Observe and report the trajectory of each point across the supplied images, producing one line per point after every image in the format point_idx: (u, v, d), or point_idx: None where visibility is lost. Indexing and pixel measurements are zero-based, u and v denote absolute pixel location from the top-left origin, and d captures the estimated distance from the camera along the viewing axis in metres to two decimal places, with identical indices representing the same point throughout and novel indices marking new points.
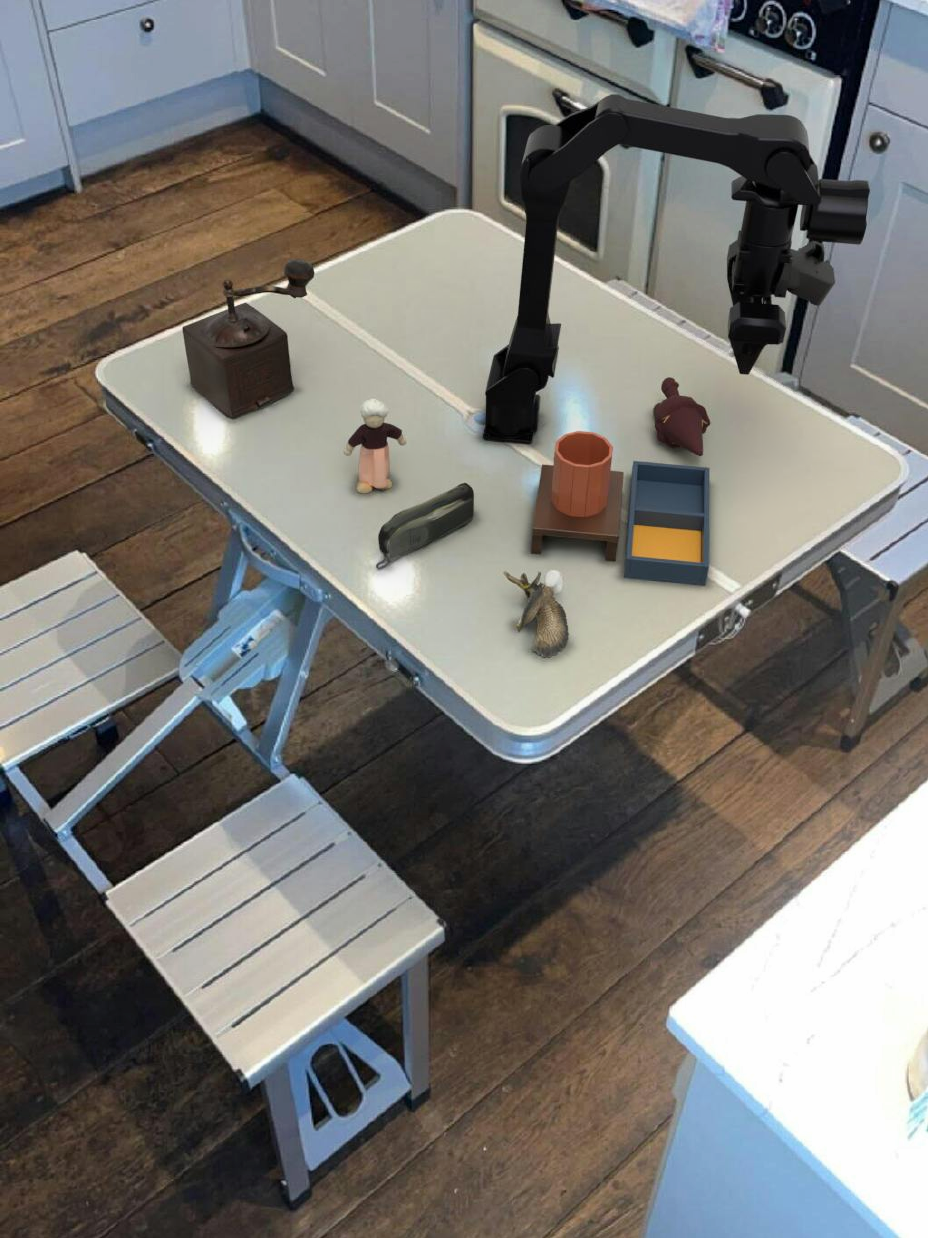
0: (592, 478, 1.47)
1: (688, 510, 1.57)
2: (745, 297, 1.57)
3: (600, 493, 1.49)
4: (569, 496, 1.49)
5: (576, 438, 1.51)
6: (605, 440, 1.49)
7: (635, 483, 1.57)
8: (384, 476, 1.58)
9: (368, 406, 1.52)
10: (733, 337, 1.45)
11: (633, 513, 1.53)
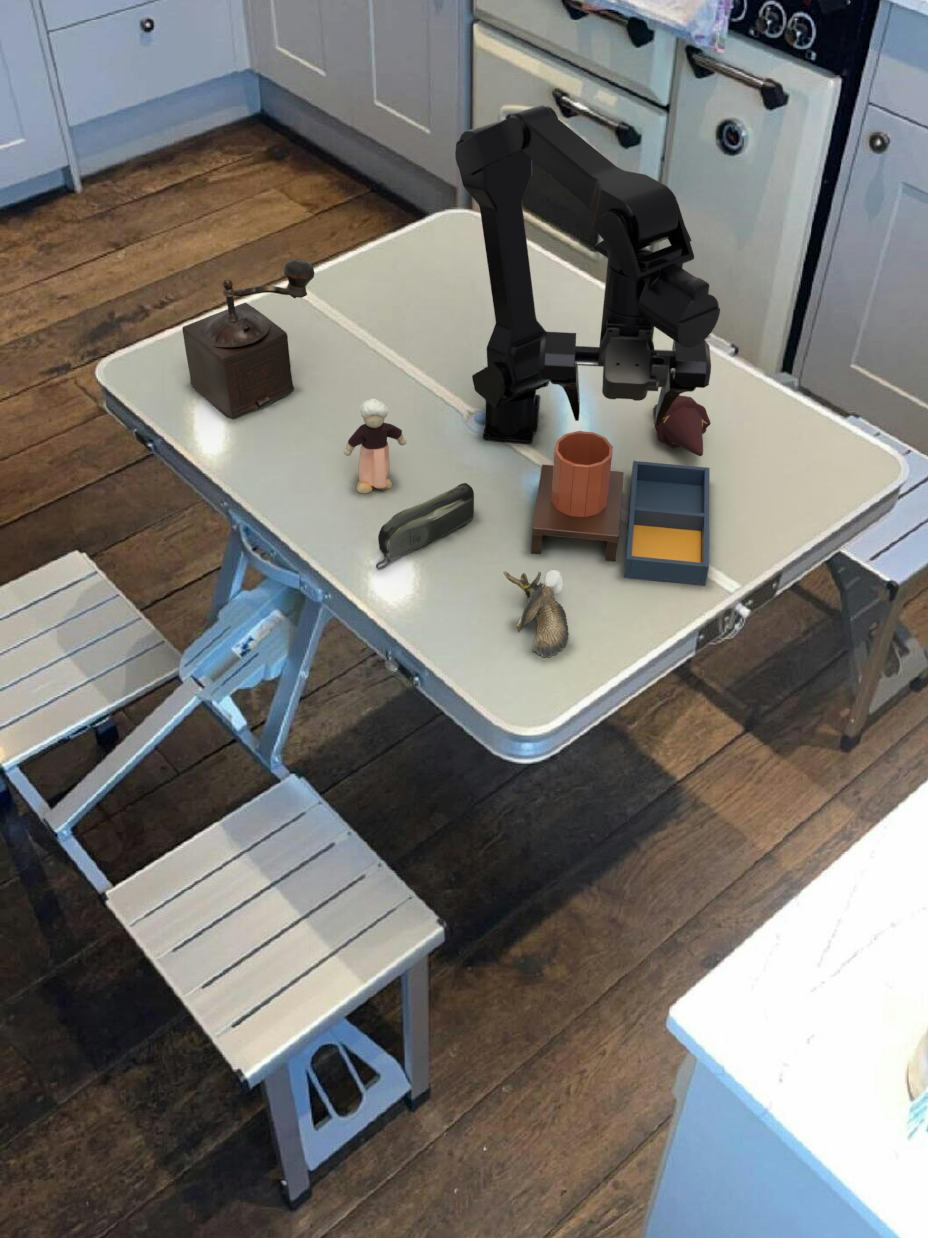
0: (592, 478, 1.47)
1: (688, 510, 1.57)
2: (663, 388, 1.46)
3: (600, 493, 1.49)
4: (569, 496, 1.49)
5: (576, 438, 1.51)
6: (605, 440, 1.49)
7: (635, 483, 1.57)
8: (384, 476, 1.58)
9: (368, 406, 1.52)
10: None
11: (633, 513, 1.53)
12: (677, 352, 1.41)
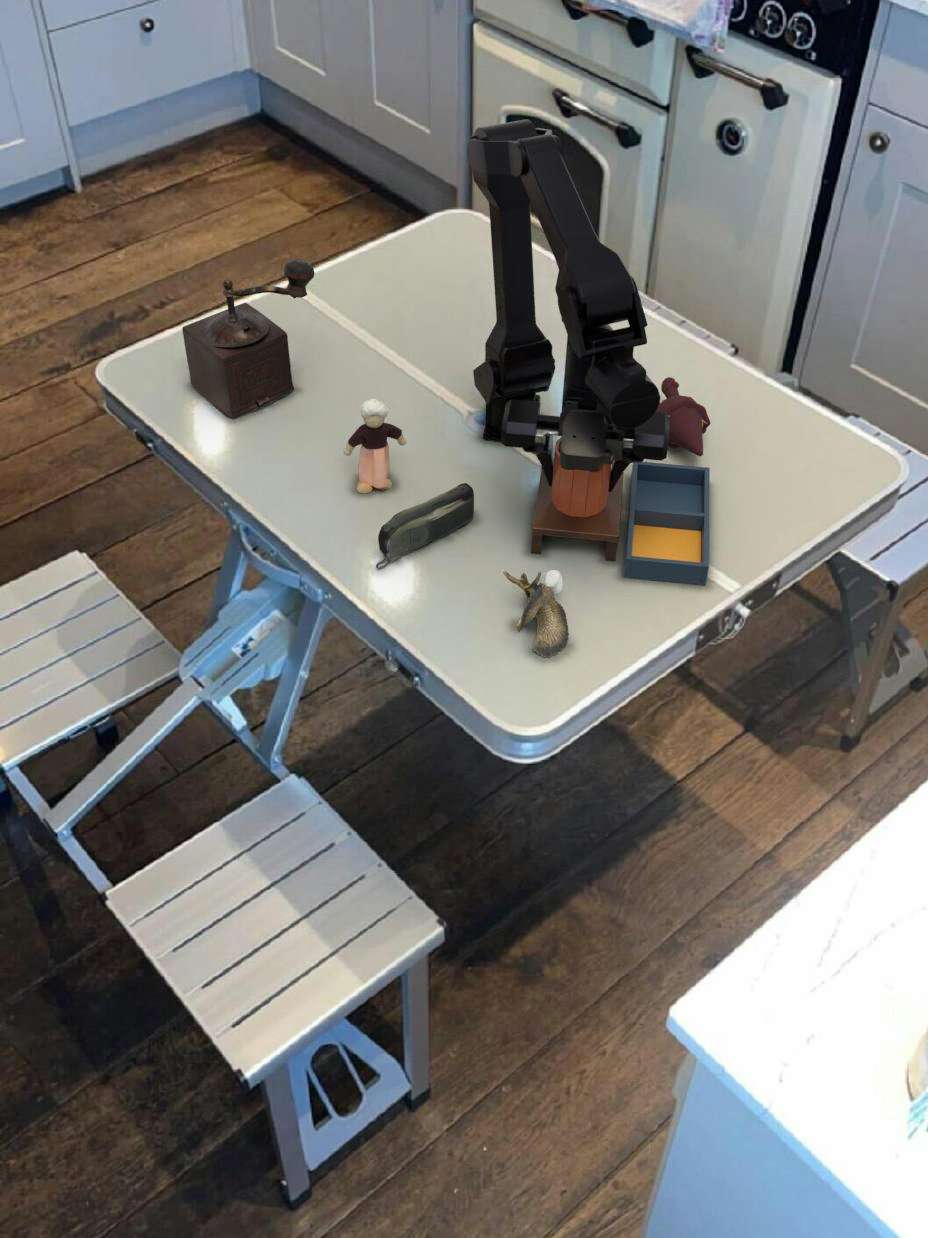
0: (592, 478, 1.47)
1: (688, 510, 1.57)
2: None
3: (600, 493, 1.49)
4: (569, 496, 1.49)
5: None
6: None
7: (635, 483, 1.57)
8: (384, 476, 1.58)
9: (368, 406, 1.52)
10: None
11: (633, 513, 1.53)
12: None
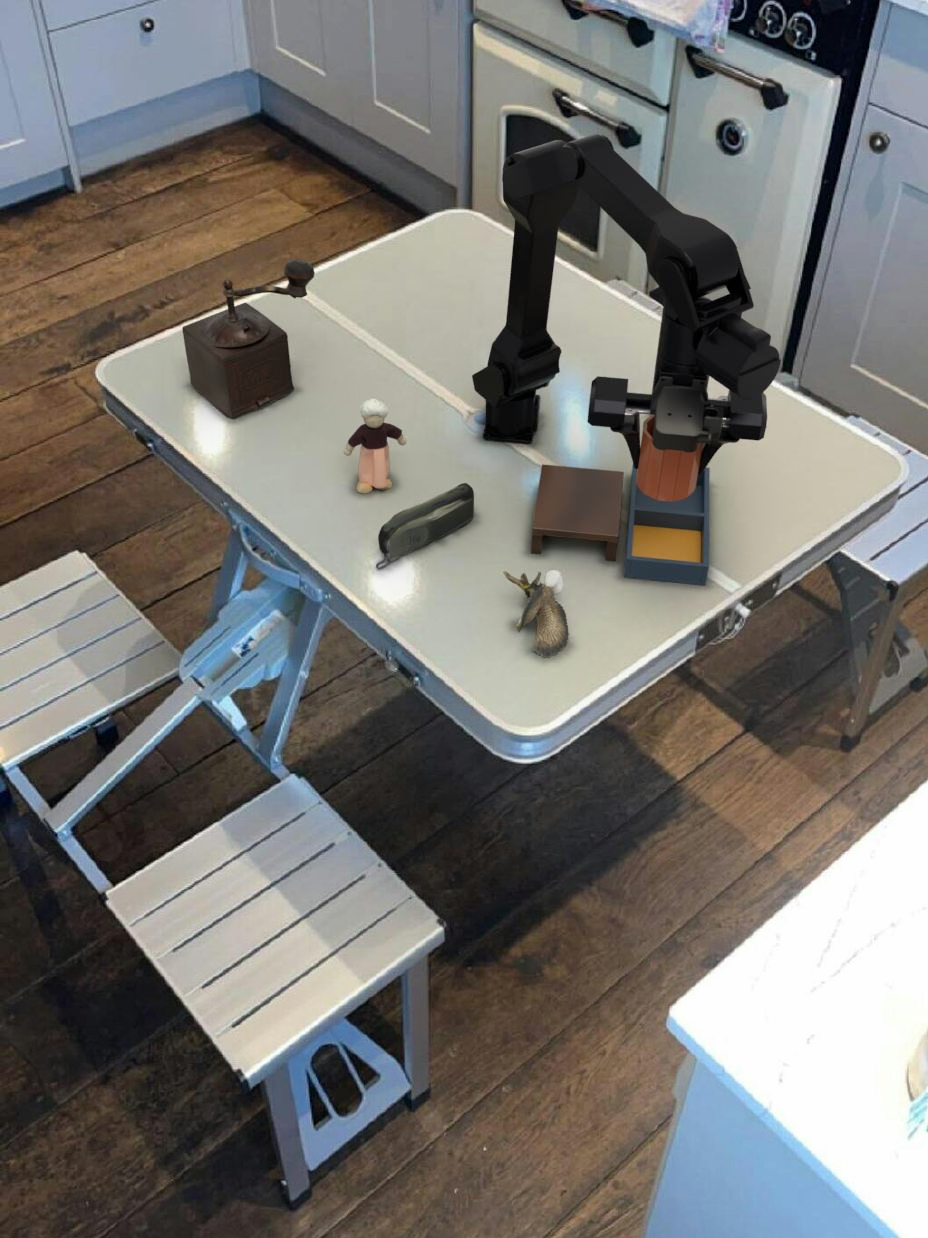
0: (683, 460, 1.39)
1: (688, 510, 1.57)
2: None
3: (690, 476, 1.41)
4: (657, 479, 1.41)
5: None
6: None
7: (635, 483, 1.57)
8: (384, 476, 1.58)
9: (368, 406, 1.52)
10: None
11: (633, 513, 1.53)
12: (732, 403, 1.36)
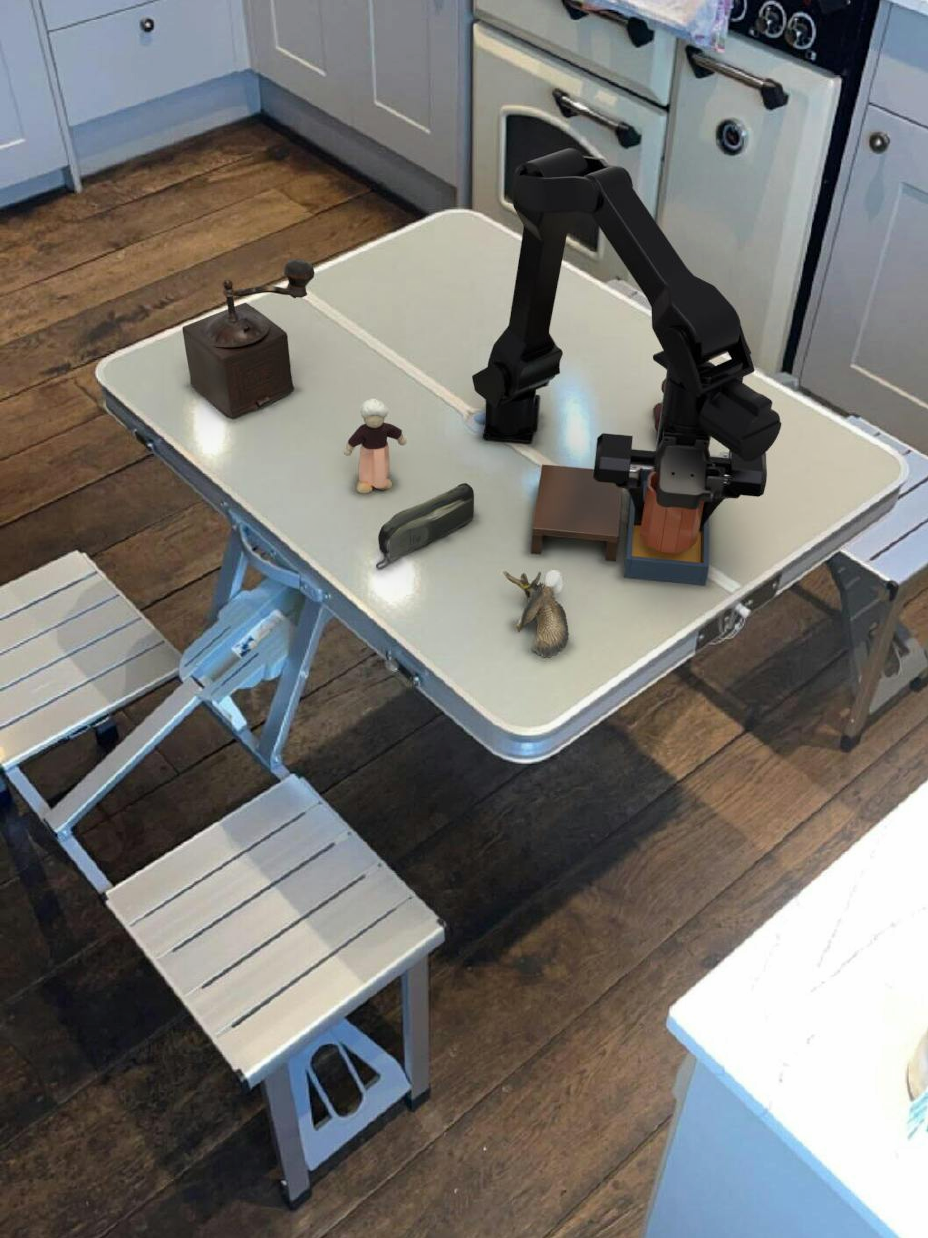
0: (685, 514, 1.44)
1: None
2: None
3: (692, 529, 1.46)
4: (661, 532, 1.46)
5: None
6: None
7: None
8: (384, 476, 1.58)
9: (368, 406, 1.52)
10: None
11: (633, 513, 1.53)
12: (733, 460, 1.41)
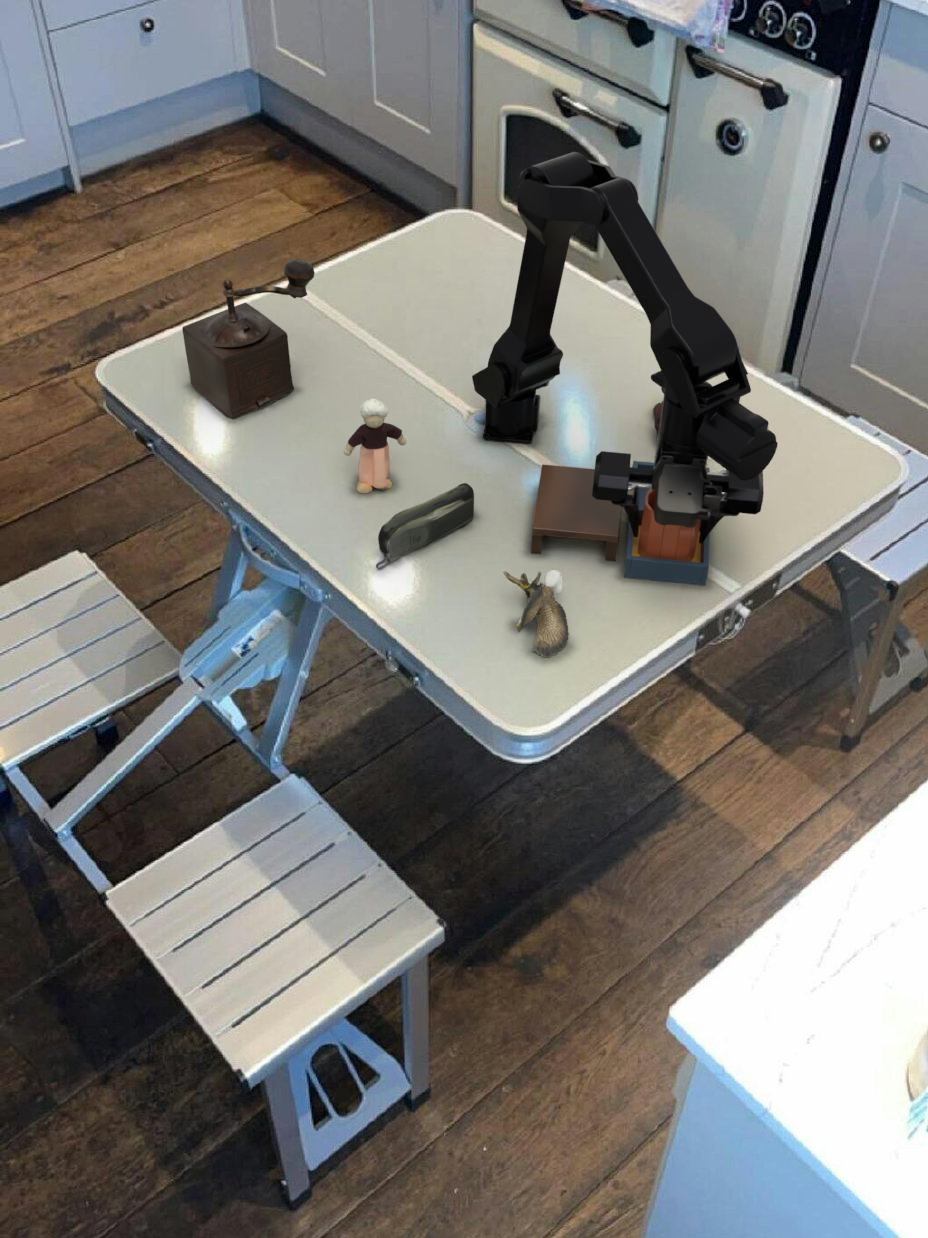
0: (682, 531, 1.46)
1: None
2: None
3: (689, 546, 1.48)
4: (658, 549, 1.48)
5: None
6: None
7: None
8: (384, 476, 1.58)
9: (368, 406, 1.52)
10: None
11: None
12: (730, 478, 1.43)
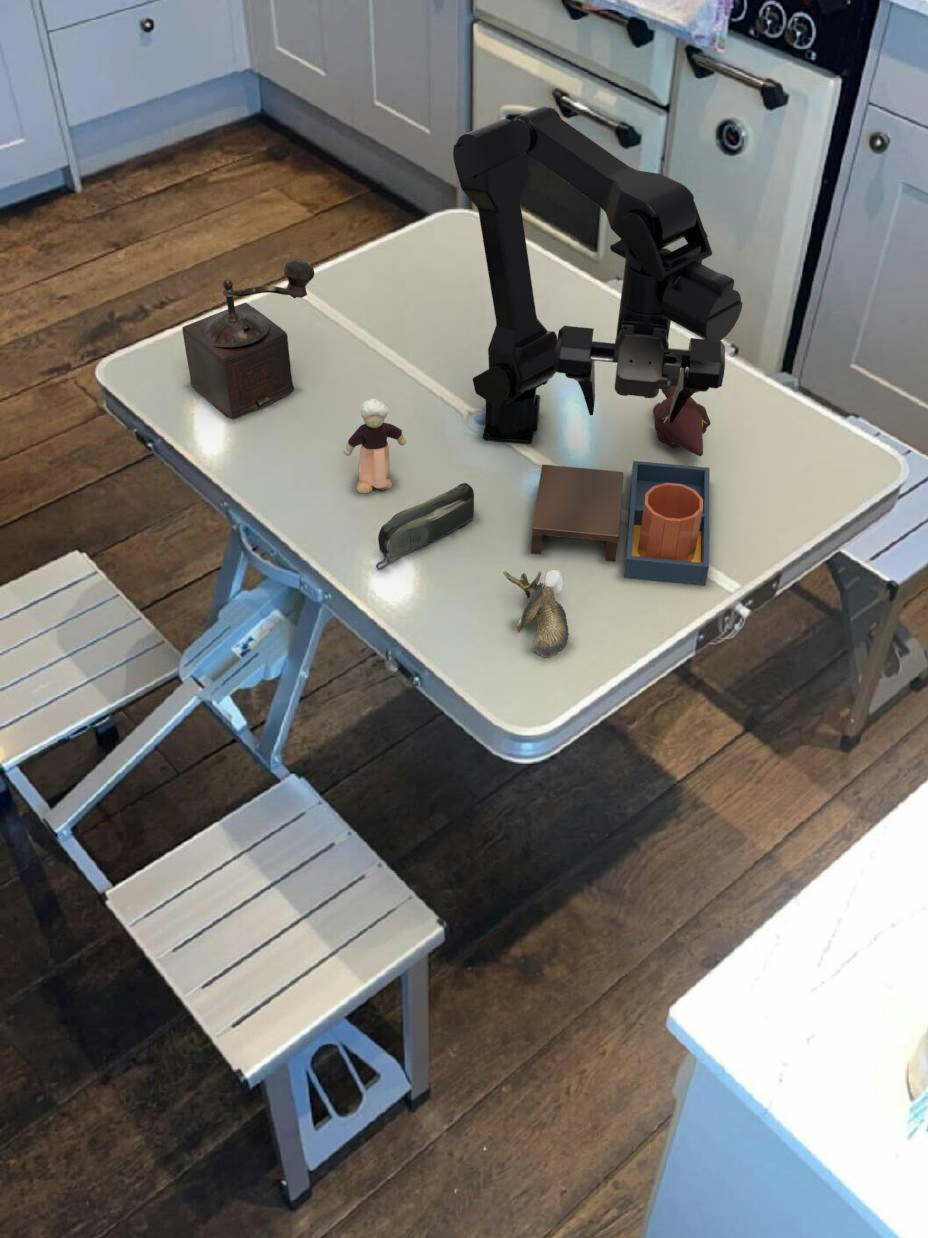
0: (682, 531, 1.46)
1: None
2: (678, 386, 1.47)
3: (689, 546, 1.48)
4: (658, 549, 1.48)
5: (664, 490, 1.49)
6: (695, 492, 1.48)
7: (635, 483, 1.57)
8: (384, 476, 1.58)
9: (368, 406, 1.52)
10: None
11: (633, 513, 1.53)
12: (692, 352, 1.42)
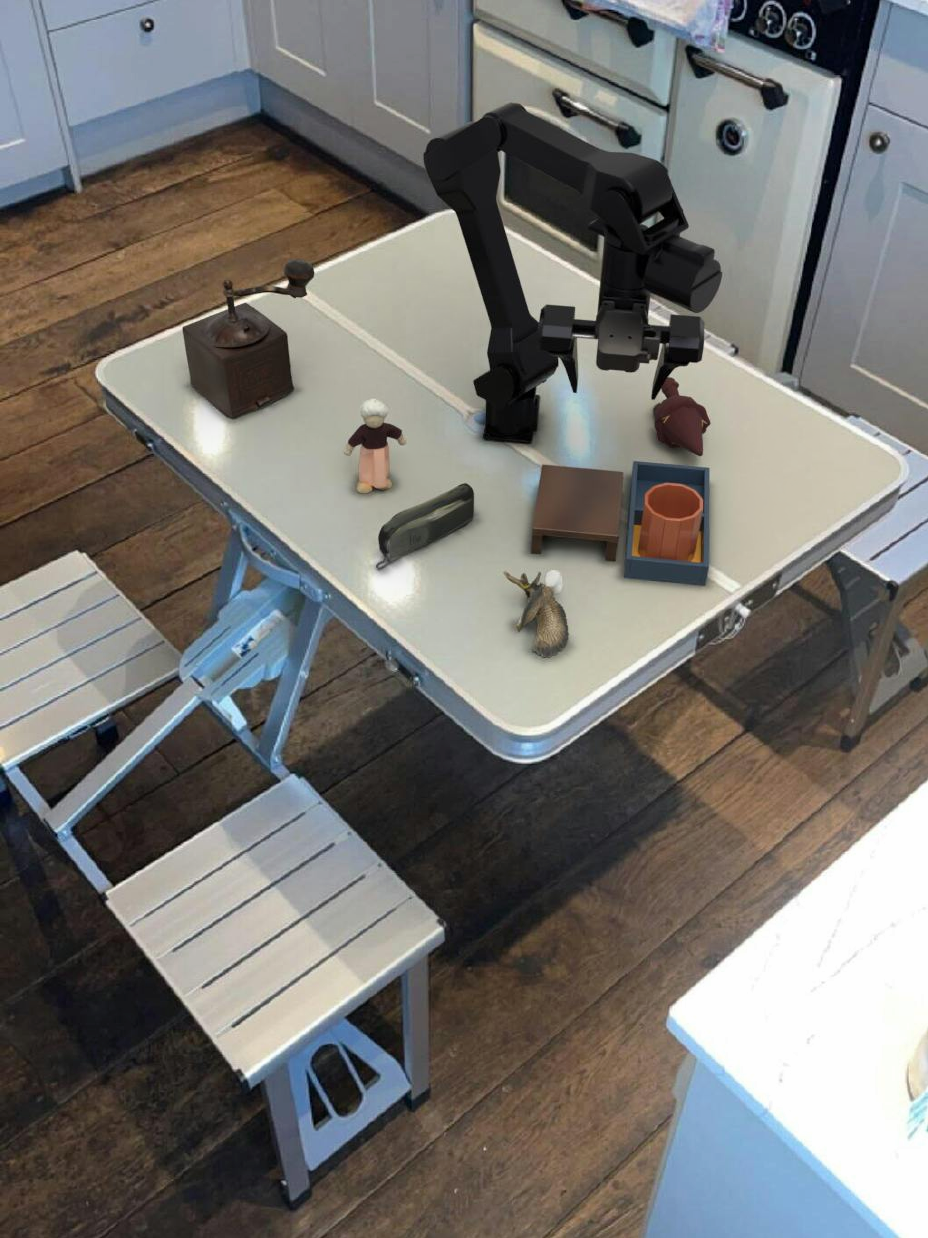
0: (682, 531, 1.46)
1: None
2: (659, 363, 1.50)
3: (689, 546, 1.48)
4: (658, 549, 1.48)
5: (664, 490, 1.49)
6: (695, 492, 1.48)
7: (635, 483, 1.57)
8: (384, 476, 1.58)
9: (368, 406, 1.52)
10: None
11: (633, 513, 1.53)
12: (672, 327, 1.45)
